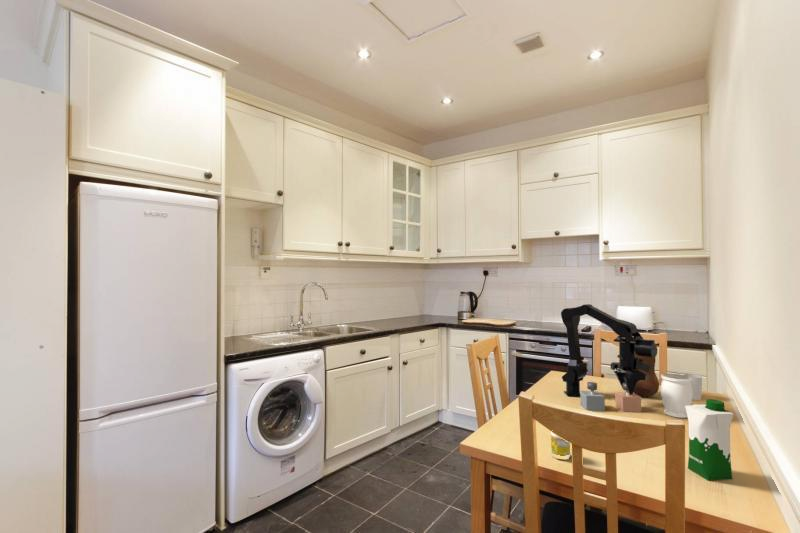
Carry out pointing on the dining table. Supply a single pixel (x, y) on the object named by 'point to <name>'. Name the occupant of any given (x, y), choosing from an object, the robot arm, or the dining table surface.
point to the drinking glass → (696, 386)
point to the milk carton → (709, 440)
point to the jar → (676, 394)
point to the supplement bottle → (559, 446)
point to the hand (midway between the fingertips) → (627, 391)
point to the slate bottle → (592, 401)
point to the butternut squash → (647, 379)
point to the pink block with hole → (628, 402)
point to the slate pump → (592, 386)
